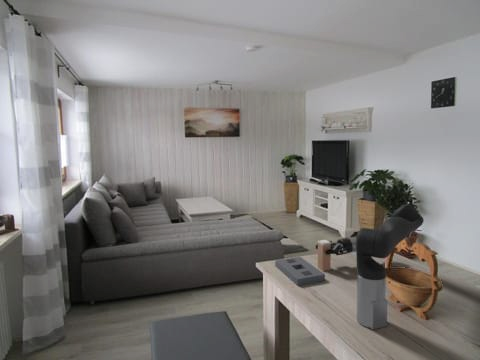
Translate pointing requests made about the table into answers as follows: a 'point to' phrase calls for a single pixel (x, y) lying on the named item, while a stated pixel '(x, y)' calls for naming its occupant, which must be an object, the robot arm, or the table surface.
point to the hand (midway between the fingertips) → (320, 249)
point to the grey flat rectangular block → (299, 270)
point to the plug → (323, 255)
